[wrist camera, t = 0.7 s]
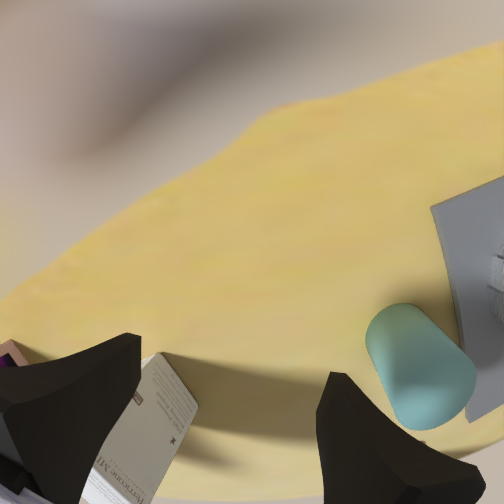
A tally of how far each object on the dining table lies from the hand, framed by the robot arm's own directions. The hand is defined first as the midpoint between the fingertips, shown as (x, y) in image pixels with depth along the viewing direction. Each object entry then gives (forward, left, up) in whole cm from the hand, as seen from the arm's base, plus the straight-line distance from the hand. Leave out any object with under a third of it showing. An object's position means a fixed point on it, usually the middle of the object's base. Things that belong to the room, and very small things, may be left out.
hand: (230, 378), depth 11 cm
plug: (-7, -8, -11) cm, 15 cm away
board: (-9, -20, -11) cm, 25 cm away
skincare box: (-5, +11, -11) cm, 16 cm away
